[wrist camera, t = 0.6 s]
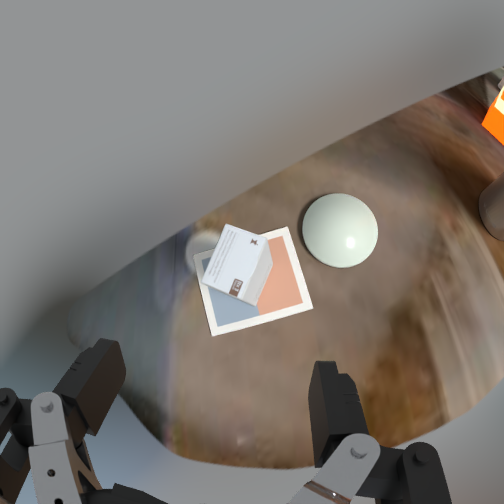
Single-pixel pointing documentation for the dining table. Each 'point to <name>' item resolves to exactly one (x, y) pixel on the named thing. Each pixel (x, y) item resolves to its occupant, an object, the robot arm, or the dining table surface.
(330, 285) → the dining table surface
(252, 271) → the skincare box
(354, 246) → the coaster
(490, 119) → the orange juice
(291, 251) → the blue and orange card
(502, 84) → the skincare box
